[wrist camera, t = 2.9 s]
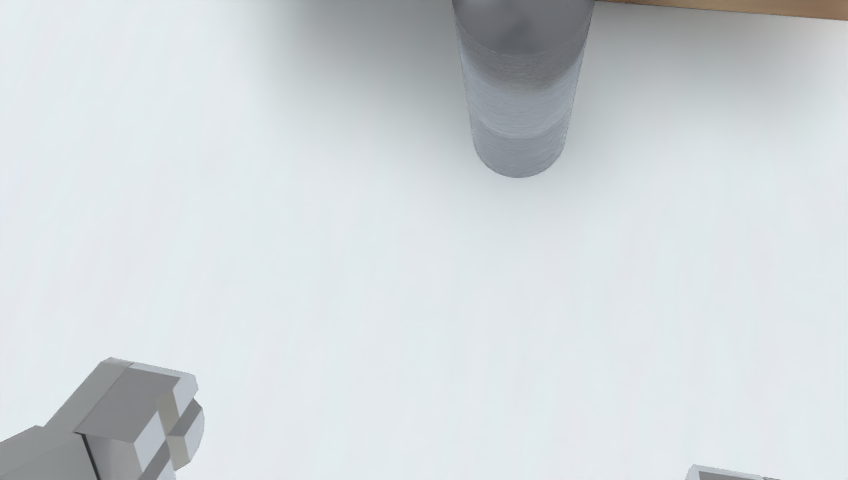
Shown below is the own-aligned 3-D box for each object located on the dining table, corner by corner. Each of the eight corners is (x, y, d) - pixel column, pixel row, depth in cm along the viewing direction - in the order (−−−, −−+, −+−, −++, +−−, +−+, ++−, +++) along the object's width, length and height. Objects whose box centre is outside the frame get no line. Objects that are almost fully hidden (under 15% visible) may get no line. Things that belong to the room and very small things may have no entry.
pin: (466, 171, 27) (440, 47, 17) (480, 86, 28) (463, -79, 18) (559, 183, 26) (587, 61, 17) (570, 95, 27) (604, -70, 17)
